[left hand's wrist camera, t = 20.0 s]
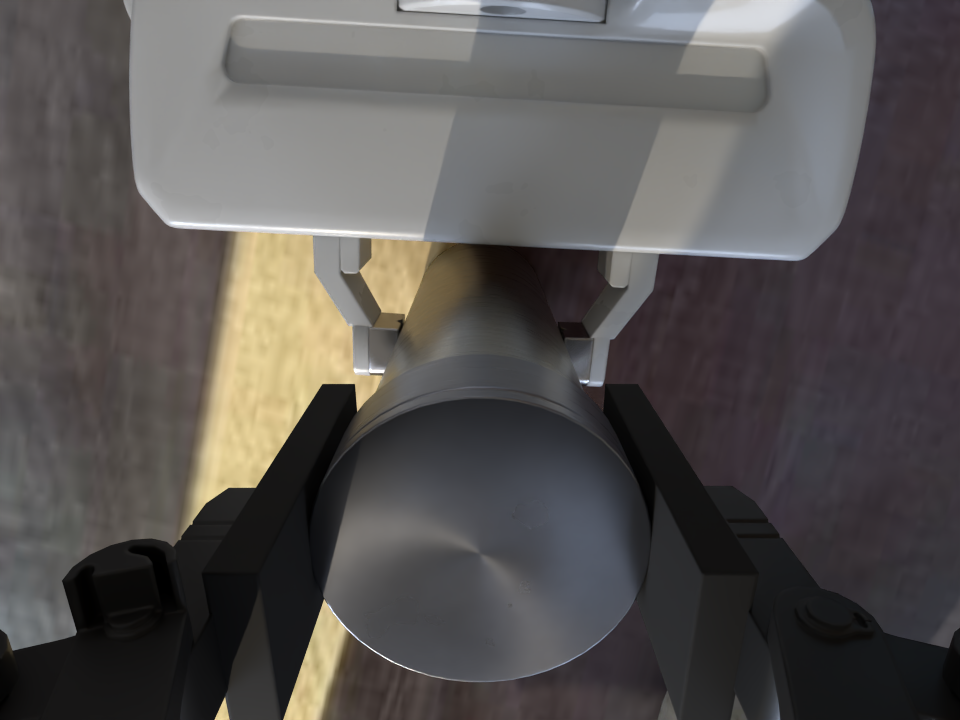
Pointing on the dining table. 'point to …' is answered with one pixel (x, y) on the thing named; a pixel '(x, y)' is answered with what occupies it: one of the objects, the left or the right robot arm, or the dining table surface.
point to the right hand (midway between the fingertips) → (480, 375)
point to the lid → (480, 521)
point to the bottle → (480, 313)
